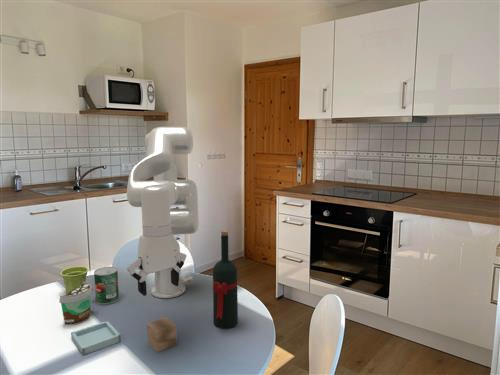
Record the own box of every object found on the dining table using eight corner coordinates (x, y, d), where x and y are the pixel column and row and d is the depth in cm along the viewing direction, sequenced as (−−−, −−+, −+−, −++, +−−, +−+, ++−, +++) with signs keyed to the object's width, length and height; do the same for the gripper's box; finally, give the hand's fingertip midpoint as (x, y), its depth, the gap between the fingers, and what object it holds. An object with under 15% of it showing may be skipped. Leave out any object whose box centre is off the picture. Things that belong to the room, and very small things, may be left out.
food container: (79, 328, 118) (76, 298, 116) (61, 326, 119) (58, 296, 117) (102, 310, 130) (100, 282, 128) (85, 308, 131) (83, 280, 129)
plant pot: (81, 285, 149) (79, 264, 148) (95, 291, 144) (93, 269, 142) (57, 294, 142) (55, 271, 140) (71, 300, 136) (69, 277, 135)
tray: (107, 326, 119) (107, 320, 118) (120, 341, 111) (120, 335, 110) (71, 338, 112) (71, 332, 112) (82, 355, 104) (82, 348, 104)
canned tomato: (90, 302, 135) (88, 273, 133) (106, 293, 142) (104, 265, 140) (109, 306, 132) (107, 276, 130) (123, 296, 139) (122, 268, 138)
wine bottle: (206, 330, 116) (204, 236, 111) (218, 315, 126) (216, 227, 121) (231, 334, 114) (230, 238, 109) (241, 318, 124) (240, 228, 119)
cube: (166, 335, 114) (165, 317, 113) (176, 344, 109) (175, 325, 108) (147, 343, 110) (146, 323, 109) (157, 352, 106) (156, 332, 105)
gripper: (178, 222, 113) (179, 277, 115) (120, 232, 102) (124, 293, 104) (191, 227, 107) (193, 285, 110) (131, 239, 96) (135, 303, 99)
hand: (159, 289), depth 107 cm, fingers open, 9 cm apart
